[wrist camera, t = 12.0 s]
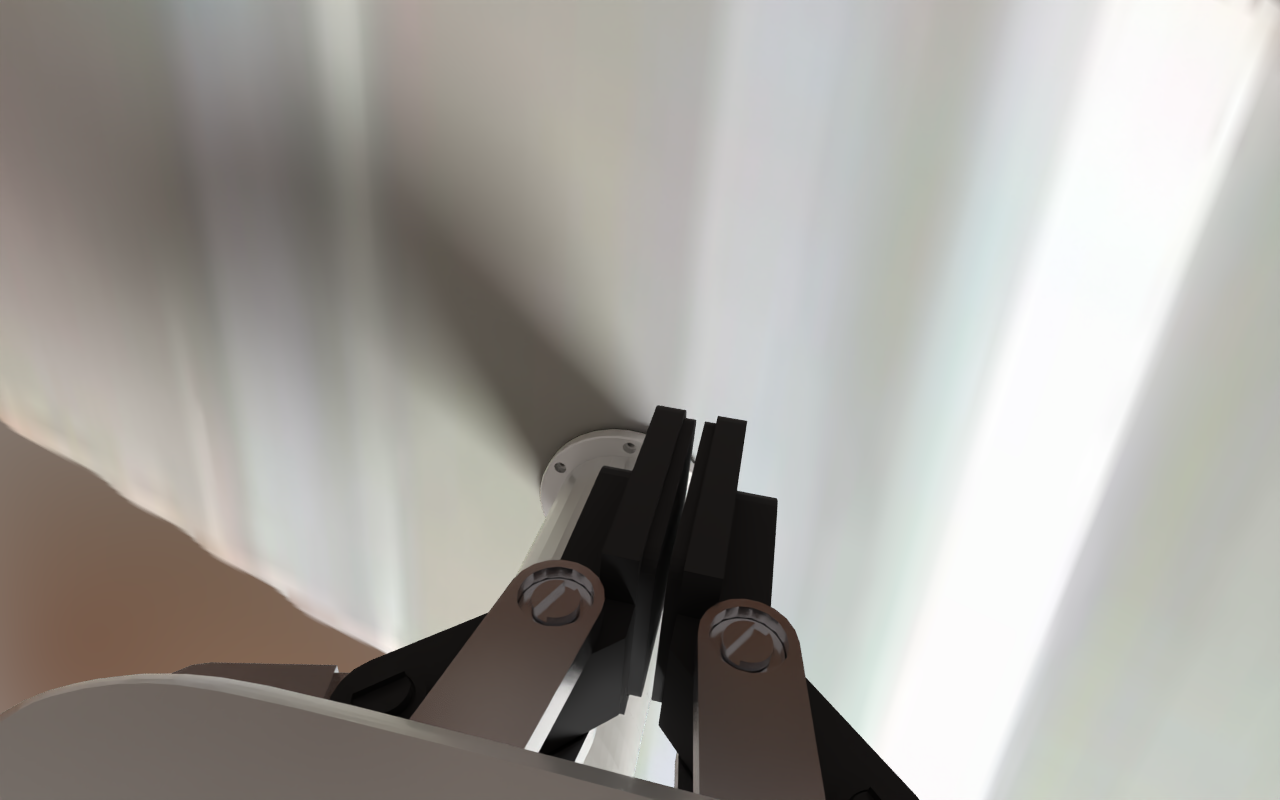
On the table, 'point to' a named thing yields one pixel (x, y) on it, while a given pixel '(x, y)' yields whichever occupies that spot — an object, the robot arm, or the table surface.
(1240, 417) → the table surface
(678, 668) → the robot arm
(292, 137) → the table surface
